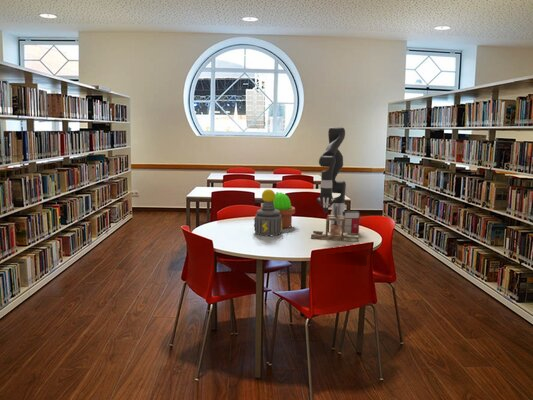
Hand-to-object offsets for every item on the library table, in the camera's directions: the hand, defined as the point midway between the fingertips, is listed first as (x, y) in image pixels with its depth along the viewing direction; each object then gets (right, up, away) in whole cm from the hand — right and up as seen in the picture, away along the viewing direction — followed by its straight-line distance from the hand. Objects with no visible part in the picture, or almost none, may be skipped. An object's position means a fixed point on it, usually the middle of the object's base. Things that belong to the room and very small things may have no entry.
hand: (325, 213), depth 313 cm
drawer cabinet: (+6, -16, +1) cm, 17 cm away
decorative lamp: (-38, -14, +12) cm, 42 cm away
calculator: (+19, -14, +16) cm, 29 cm away
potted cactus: (-29, -11, +37) cm, 48 cm away
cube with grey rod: (+6, -14, +1) cm, 16 cm away
